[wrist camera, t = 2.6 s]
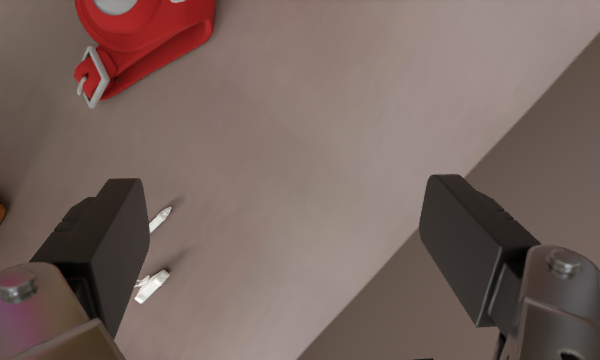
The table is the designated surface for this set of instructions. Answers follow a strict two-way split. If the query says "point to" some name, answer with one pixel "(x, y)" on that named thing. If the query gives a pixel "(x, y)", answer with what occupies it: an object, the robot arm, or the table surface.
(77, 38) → the table surface
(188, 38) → the tracker holder
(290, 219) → the table surface
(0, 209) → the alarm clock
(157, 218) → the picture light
